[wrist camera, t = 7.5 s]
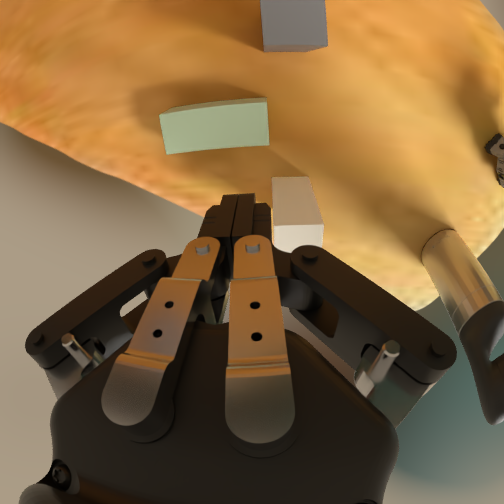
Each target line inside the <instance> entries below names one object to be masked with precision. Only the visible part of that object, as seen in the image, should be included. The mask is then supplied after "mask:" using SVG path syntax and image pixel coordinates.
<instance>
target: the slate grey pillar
mask: <svg viewBox="0 0 504 504" xmlns="http://www.w3.org/2000/svg"><path fill="white" fill-rule="evenodd" d="M260 8H261V21H262V34H263V46H264V52H308V51H311V50H315V49H319V48H323V47H327V46H328V39H327V22H326V9H325V0H260Z"/></svg>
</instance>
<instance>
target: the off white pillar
mask: <svg viewBox="0 0 504 504" xmlns="http://www.w3.org/2000/svg"><path fill="white" fill-rule="evenodd" d="M272 200H273V224H274V246H275V247H276V248H277V249H279V250H281V251H284V252H289V253H291V252H292V251H293V250H294V249H295V248H297V247H299V246H302V245H315V246H318V247H321V248H322V241H323V231H324V223H323V220H322V216H321V213H320V210H319V207H318V204H317V201H316V198H315V195H314V192H313V189H312V186H311V183H310V180H309V177H308V176H305V177H272Z"/></svg>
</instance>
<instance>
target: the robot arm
mask: <svg viewBox="0 0 504 504" xmlns="http://www.w3.org/2000/svg"><path fill="white" fill-rule="evenodd" d="M421 259H422V262H423V265H424V266H425V268H426V270H427V272H428V274H429V275H430V277H431V279H432V281H433V283H434V285H435V287H436V289H437V291H438V293H439V295H440V297H441V299H442V301H443V303H444V305H445V307H446V309H447V311H448V313H449V315H450V318H451V320H452V322H453V324H454V326H455V329H456V331H457V333H458V336H459V338H460V340H461V343H462V345H463V347H464V349H465V352H466V354H467V357H468V360H469V362H470V365H471V368H472V372H473V375H474V379H475V382H476V386H477V391H478V395H479V399H480V403H481V407H482V410H483V413H484V416H485V418H486V420H487V421H488V423H489V424H491V425H496V424H498V423H500V422H502V421H504V353H503V354H502V355H501V356H499V357H498V358H496V359H495V360H494V361H490V360H489V357H490V355H491V352H492V350H493V348H494V347H495V345H496V344H497V342H498V341H499V339H500V338H501V337H502V335H503V334H504V301H503V299H502V298H501V296H500V294H499V292H498V291H497V289H496V288H495V286H494V284H493V283H492V281H491V280H490V278H489V277H488V275H487V273H486V272H485V271H484V269H483V267H482V266H481V264H480V263H479V262H478V260H477V259H476V257H475V256H474V254H473V253H472V252H471V250H470V249H469V247H468V246H467V245H466V243H465V242H464V241H463V239H462V238H461V237H460V235H459V234H458V233H457V232H456V231H454V230H443V231H440V232H439V233H437V234H435V235H434V236H433V237H431V239H430V240H429V241H428V242H427V243H426V245H425V246H424V248H423V251H422V256H421ZM230 282H231V284H230V310H229V322H228V323H223V319H224V315H225V311H226V307H227V303H228V299H229V291H228V288H229V283H230ZM142 291H144V292H145V294H146V296H147V298H148V299H147V300H145V301H144V302H142V303H141V304H140V305H138V306H137V307H136V308H134V309H133V310H132V311H130V312H129V313H128V314H126V315H125V316H123V317H121V316H120V310H121V308H122V306H123V305H125V304H126V303H127V302H128V301H130V300H131V299H133V298H134V297H136V296H137V295H138V294H140V293H141V292H142ZM281 306H284V307H288V308H289V310H290V312H291V314H292V315H293V316H294V317H295V318H296V319H297V320H299V321H300V322H301V323H302V324H303V325H304V326H305V327H306V328H307V329H309V330H310V331H311V332H312V333H313V334H314V335H315V336H316V337H318V338H319V339H320V340H321V341H322V342H323V343H324V344H325V345H327V346H328V347H329V348H330V349H331V350H332V351H333V352H335V353H336V354H337V355H338V356H339V357H340V358H341V359H343V360H344V361H345V362H346V363H347V364H348V365H350V366H351V367H352V368H353V369H354V370H355V374H354V382H355V385H356V387H357V388H358V389H359V390H357V389H356V388H355V387H354V386H353V385H352V384H351V383H350V382H349V381H348V380H347V379H346V378H345V377H344V376H343V375H342V374H341V373H340V372H339V371H338V370H337V369H336V368H334V366H332V364H330V363H329V361H327V360H326V359H325V358H324V357H323V356H322V355H321V354H320V353H319V352H318V351H317V350H316V349H315V348H314V347H313V346H312V345H311V344H310V343H309V342H308V341H307V340H305V339H304V338H303V337H301V336H299V335H298V334H296V333H294V332H292V331H289V330H286V329H284V324H283V317H282V310H281ZM25 348H26V351H27V353H28V354H29V355H30V356H31V357H32V358H33V359H34V360H35V361H36V362H37V363H38V364H39V366H40V367H41V368H42V369H43V370H44V371H45V372H46V375H47V377H48V380H49V382H50V384H51V386H52V389H53V391H54V393H55V395H56V397H57V399H58V401H57V402H56V404H55V406H54V408H53V410H52V414H51V419H50V428H51V436H52V445H53V460H52V465H51V468H50V470H49V472H48V474H47V475H46V476H45V477H44V478H43V479H42V480H40V481H39V482H37V483H36V484H33V485H31V486H29V487H27V488H26V489H25V490H24V491H23V492H22V494H21V496H20V500H19V504H382V501H383V496H384V492H385V489H386V485H387V482H388V480H389V477H390V474H391V472H392V470H393V468H394V466H395V464H396V461H397V457H398V452H399V441H398V436H397V433H396V430H395V428H396V427H397V426H398V425H399V424H400V423H401V422H402V420H403V419H404V418H405V417H406V416H407V414H408V413H409V412H410V411H411V410H412V408H413V407H414V406H415V405H416V403H417V402H418V401H419V399H420V398H421V397H422V396H423V395H424V394H426V393H427V392H428V391H429V390H430V388H432V387H433V386H434V384H435V383H436V382H437V381H438V380H439V379H440V378H441V377H442V376H443V375H444V374H445V372H447V370H448V369H449V368H450V367H451V366H452V365H453V364H454V362H455V360H456V356H457V351H456V346H455V344H454V342H453V341H452V339H450V337H449V336H448V335H446V334H445V333H444V332H442V331H441V330H440V329H438V328H437V327H436V326H434V325H433V324H432V323H430V322H429V321H427V320H426V319H424V318H423V317H422V316H420V315H419V314H418V313H416V312H415V311H414V310H412V309H411V308H409V307H408V306H407V305H405V304H404V303H402V302H401V301H400V300H398V299H397V298H395V297H394V296H392V295H391V294H390V293H388V292H387V291H385V290H384V289H382V288H381V287H380V286H378V285H377V284H375V283H374V282H372V281H371V280H369V279H368V278H366V277H365V276H363V275H362V274H360V273H359V272H357V271H356V270H355V269H353V268H352V267H350V266H349V265H347V264H346V263H344V262H342V261H341V260H339V259H338V258H336V257H335V256H333V255H332V254H330V253H329V252H327V251H326V250H324V249H323V248H321V247H318V246H315V245H302V246H299V247H297V248H295V249H294V250H293V251H292V252H291V253H289V252H284V251H281V250H279V249H277V248H276V247H275V246H274V245H273V244H272V229H271V208H270V207H269V206H268V205H267V203H256V199H255V193H251V194H232V195H223V197H222V200H221V204H220V205H214V206H212V207H211V208H210V209H208V210H207V211H206V214H205V217H204V220H203V224H202V226H201V228H200V232H199V234H198V237H197V239H194V240H192V241H191V242H189V243H188V245H187V246H186V248H185V250H184V252H183V254H180V255H177V256H173V257H169V258H166V255H165V253H164V252H163V251H162V250H158V249H152V250H147V251H145V252H143V253H141V254H139V255H138V256H136V257H135V258H133V259H132V260H130V261H129V262H127V263H126V264H124V265H123V266H121V267H120V268H118V269H117V270H115V271H114V272H112V273H111V274H109V275H108V276H106V277H105V278H103V279H102V280H100V281H99V282H97V283H96V284H95V285H93V286H92V287H90V288H89V289H87V290H86V291H85V292H83V293H82V294H80V295H79V296H78V297H76V298H75V299H73V300H72V301H71V302H69V303H68V304H67V305H65V306H64V307H62V308H61V309H60V310H58V311H57V312H56V313H54V314H53V315H52V316H50V317H49V318H48V319H46V320H45V321H44V322H42V323H41V324H40V325H39V326H37V327H36V328H35V329H33V330H32V331H31V333H30V334H29V335H28V337H27V339H26V343H25Z"/></svg>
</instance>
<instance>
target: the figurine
mask: <svg viewBox="0 0 504 504" xmlns="http://www.w3.org/2000/svg"><path fill="white" fill-rule="evenodd" d="M485 148H486V151H487V153H489V154H493V155H495V156H497V157H498V161H497V169H496V171H497V173H498V178H499V179H498V183H499V185H501V186H502V187H503V188H504V138H503V137H502V135H501V134H499V133H498V134H496V135H495V137H493V139H492V141H489V144H486V147H485Z"/></svg>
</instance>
